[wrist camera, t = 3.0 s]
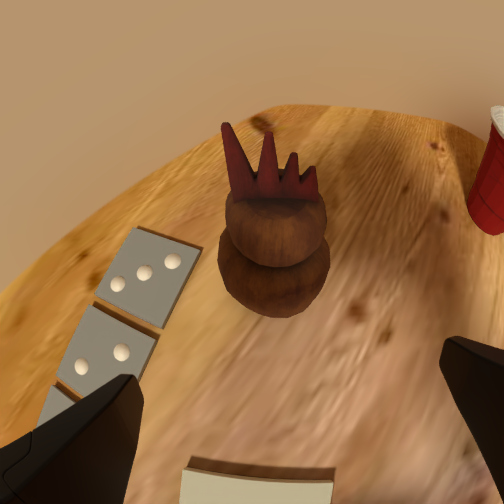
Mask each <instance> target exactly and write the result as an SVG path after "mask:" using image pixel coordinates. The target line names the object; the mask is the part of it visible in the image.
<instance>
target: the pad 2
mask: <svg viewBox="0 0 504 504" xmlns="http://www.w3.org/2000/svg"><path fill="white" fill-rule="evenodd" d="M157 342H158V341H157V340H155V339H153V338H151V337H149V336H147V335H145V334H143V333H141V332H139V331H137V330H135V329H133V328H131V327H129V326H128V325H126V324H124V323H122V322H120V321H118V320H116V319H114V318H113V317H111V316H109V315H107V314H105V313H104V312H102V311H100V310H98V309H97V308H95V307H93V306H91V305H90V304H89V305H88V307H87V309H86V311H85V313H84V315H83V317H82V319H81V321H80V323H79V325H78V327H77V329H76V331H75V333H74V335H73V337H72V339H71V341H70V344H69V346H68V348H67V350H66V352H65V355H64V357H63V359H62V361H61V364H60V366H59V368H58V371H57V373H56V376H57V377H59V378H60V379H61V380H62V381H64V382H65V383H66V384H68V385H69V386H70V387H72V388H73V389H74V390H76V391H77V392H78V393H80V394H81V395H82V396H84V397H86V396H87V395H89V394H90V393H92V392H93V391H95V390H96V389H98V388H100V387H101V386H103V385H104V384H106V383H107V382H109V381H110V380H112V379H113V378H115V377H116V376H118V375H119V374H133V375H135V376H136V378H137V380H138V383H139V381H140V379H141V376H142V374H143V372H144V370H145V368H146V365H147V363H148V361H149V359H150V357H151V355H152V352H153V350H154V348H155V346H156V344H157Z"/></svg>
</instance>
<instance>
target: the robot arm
mask: <svg viewBox="0 0 504 504" xmlns="http://www.w3.org/2000/svg"><path fill="white" fill-rule="evenodd" d="M439 366H440V369H441V371H442V374H443V376H444V378H445V380H446V382H447V385H448V387H449V389H450V392H451V394H452V396H453V399H454V401H455V403H456V405H457V407H458V409H459V411H460V413H461V414H462V416H463V418H464V420H465V422H466V424H467V426H468V428H469V429H470V431H471V433H472V435H473V437H474V439H475V441H476V443H477V445H478V447H479V449H480V451H481V453H482V456H483V458H484V460H485V462H486V464H487V466H488V468H489V471H490V473H491V475H492V477H493V480H494V482H495V484H496V487H497V489H498V491H499V494H500V496H501V499H502V501H503V504H504V350H502V349H499V348H495V347H492V346H489V345H486V344H483V343H479V342H476V341H473V340H470V339H467V338H463V337H460V336H453V337H449V338H447V339H446V340H445V341H444V344H443V348H442V352H441V356H440V360H439ZM143 406H144V398H143V394H142V391H141V389H140V386H139V383H138V380H137V378H136V376H135V375H133V374H119V375H118V376H116V377H115V378H113V379H112V380H110V381H109V382H107V383H106V384H104V385H103V386H101V387H100V388H98V389H96V390H95V391H93V392H92V393H90V394H89V395H87V396H86V397H84V398H83V399H81V400H80V401H78V402H76V403H75V404H73V405H72V406H70V407H69V408H67V409H65V410H64V411H62V412H61V413H59V414H58V415H56V416H54V417H53V418H51V419H50V420H48V421H46V422H45V423H43V424H42V425H40V426H38V427H37V428H35V429H34V430H33V431H32V432H31V431H30V432H29V433H27V434H25V435H24V436H22V437H20V438H19V439H17V440H15V441H14V442H12V443H10V444H8V445H6V446H4V447H2V448H0V504H123V502H124V498H125V493H126V489H127V485H128V481H129V477H130V473H131V469H132V465H133V461H134V458H135V454H136V450H137V445H138V439H139V432H140V425H141V418H142V412H143Z"/></svg>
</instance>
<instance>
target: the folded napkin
mask: <svg viewBox="0 0 504 504" xmlns="http://www.w3.org/2000/svg"><path fill="white" fill-rule="evenodd" d="M332 489H333V482H332V481H331V480H287V479H269V478H257V477H247V476H238V475H231V474H224V473H217V472H211V471H205V470H200V469H195V468H190V467H186V468H184V469H183V472H182V481H181V491H180V501H179V504H330V501H331V496H332Z"/></svg>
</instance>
